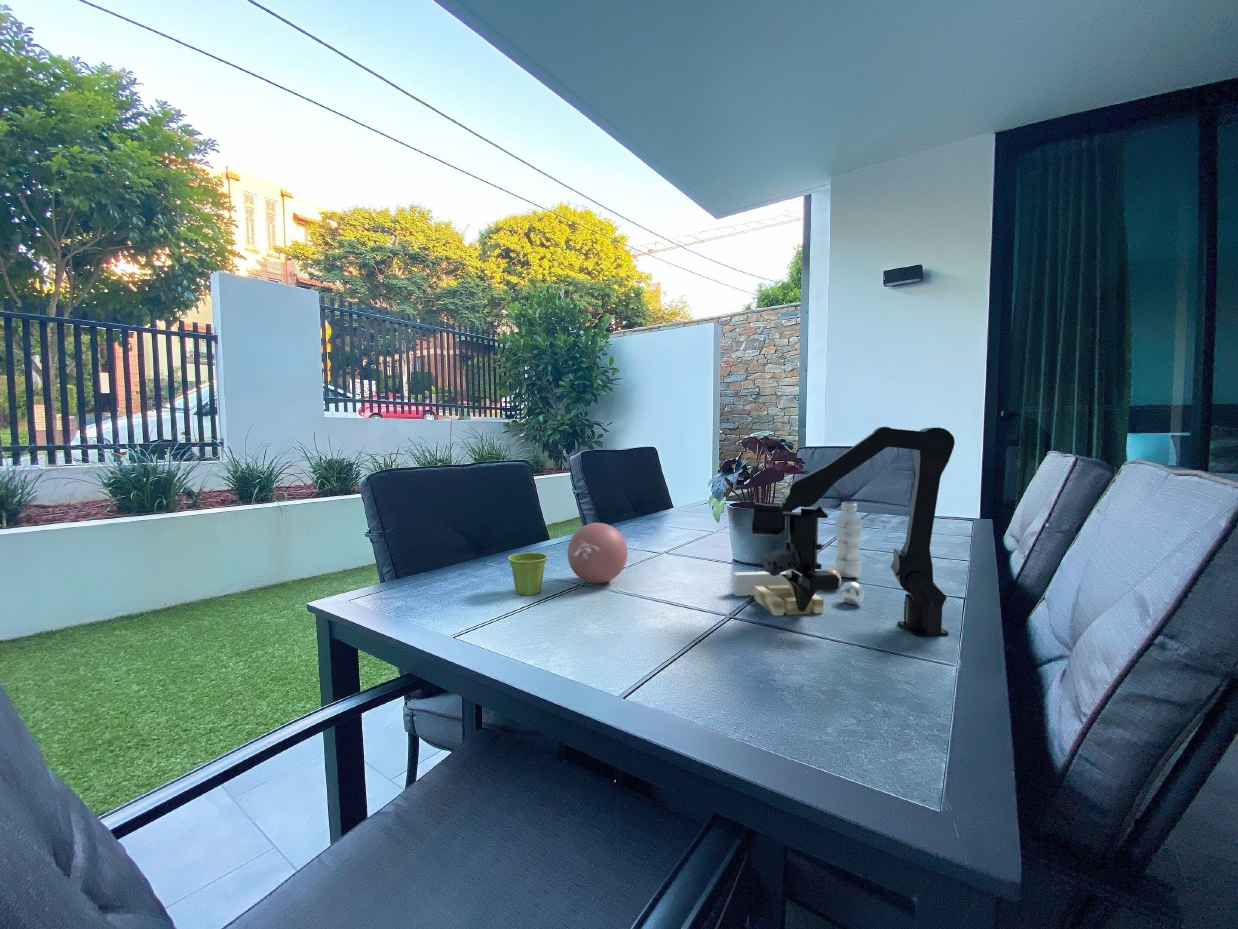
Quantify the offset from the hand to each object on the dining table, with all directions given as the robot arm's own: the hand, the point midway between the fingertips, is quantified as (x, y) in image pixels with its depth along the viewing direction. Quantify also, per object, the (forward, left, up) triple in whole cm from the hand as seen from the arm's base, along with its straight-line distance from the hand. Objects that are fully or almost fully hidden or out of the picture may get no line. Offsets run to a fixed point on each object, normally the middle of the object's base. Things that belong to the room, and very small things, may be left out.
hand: (801, 611), depth 108 cm
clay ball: (+17, -16, +1) cm, 23 cm away
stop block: (+16, 0, -1) cm, 16 cm away
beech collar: (+7, 0, -1) cm, 7 cm away
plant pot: (+24, +58, -1) cm, 63 cm away
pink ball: (+28, +42, -1) cm, 50 cm away
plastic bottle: (+26, -26, -1) cm, 37 cm away
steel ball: (+6, -15, +1) cm, 16 cm away
